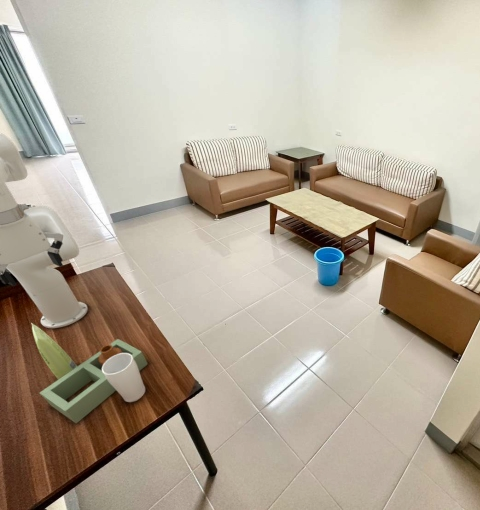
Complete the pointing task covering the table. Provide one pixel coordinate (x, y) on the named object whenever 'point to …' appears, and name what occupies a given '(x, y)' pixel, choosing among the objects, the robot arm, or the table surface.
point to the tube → (53, 353)
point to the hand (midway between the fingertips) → (36, 273)
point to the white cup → (124, 376)
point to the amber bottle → (108, 353)
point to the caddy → (80, 378)
